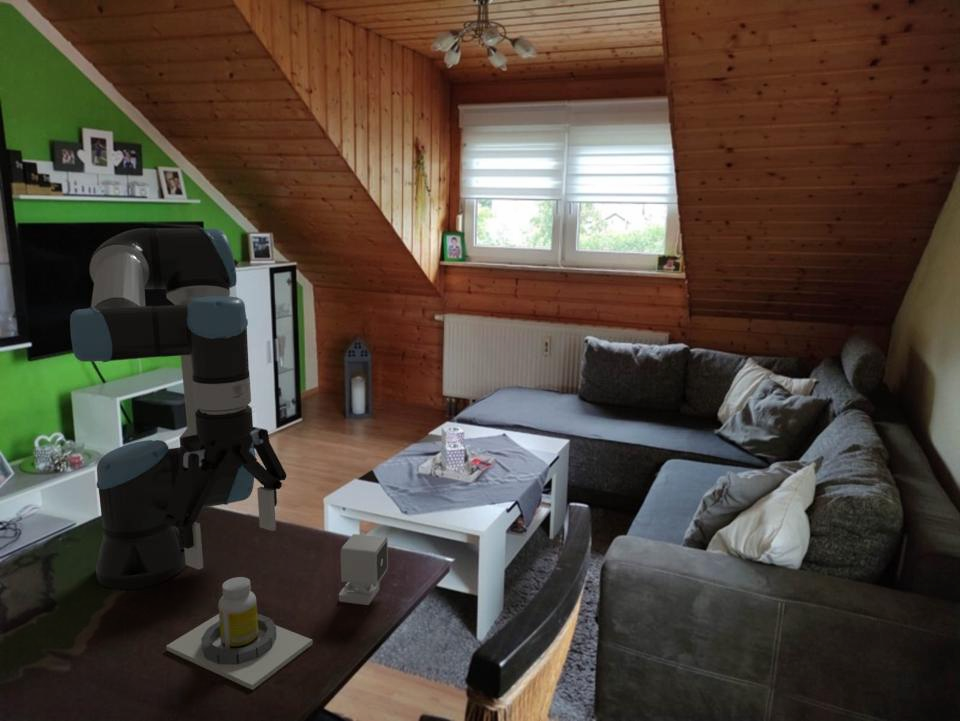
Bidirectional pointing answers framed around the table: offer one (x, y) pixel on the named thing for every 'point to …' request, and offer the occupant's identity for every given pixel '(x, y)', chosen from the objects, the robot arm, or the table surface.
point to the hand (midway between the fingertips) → (233, 546)
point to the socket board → (245, 669)
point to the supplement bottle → (238, 614)
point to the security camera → (363, 567)
